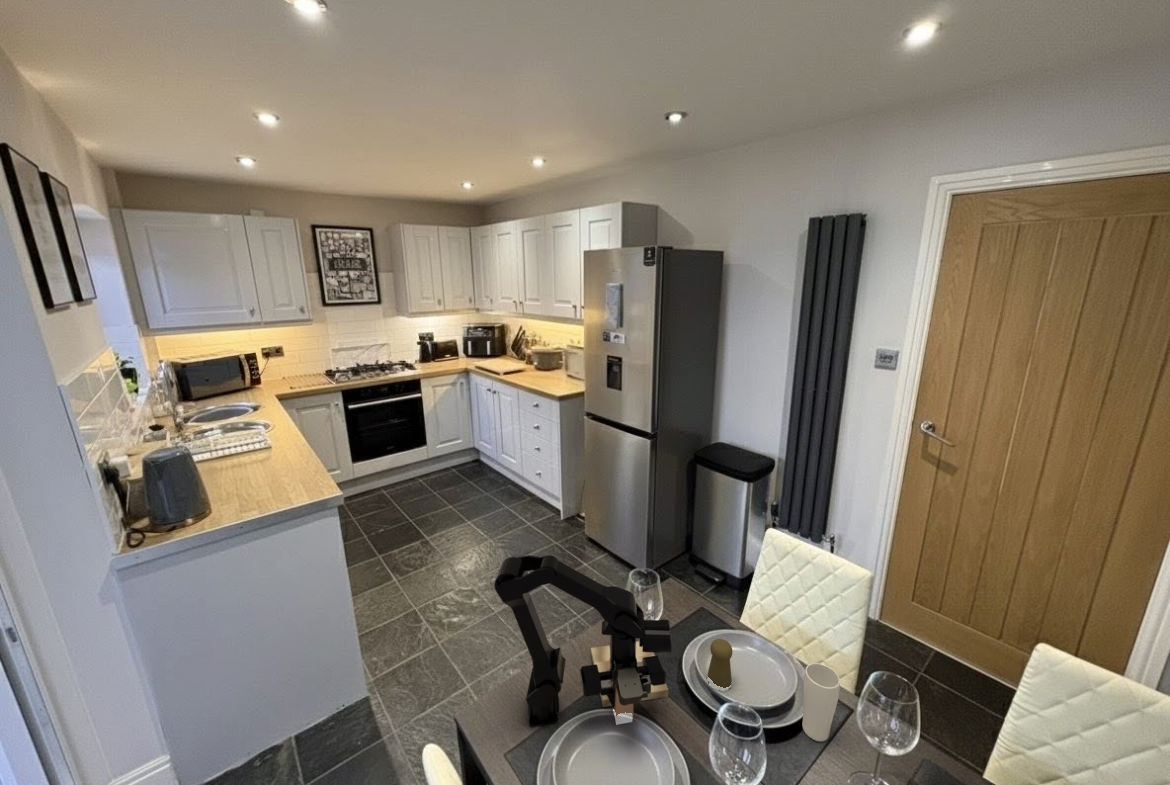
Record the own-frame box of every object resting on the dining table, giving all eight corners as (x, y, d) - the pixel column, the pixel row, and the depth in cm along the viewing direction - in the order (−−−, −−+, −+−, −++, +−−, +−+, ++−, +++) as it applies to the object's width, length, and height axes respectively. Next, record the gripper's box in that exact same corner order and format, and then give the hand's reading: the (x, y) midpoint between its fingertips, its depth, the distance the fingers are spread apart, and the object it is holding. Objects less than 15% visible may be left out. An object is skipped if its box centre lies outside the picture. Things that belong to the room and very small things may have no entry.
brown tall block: (615, 725, 104) (616, 689, 101) (612, 709, 107) (612, 674, 105) (633, 722, 104) (633, 686, 102) (628, 706, 108) (629, 671, 106)
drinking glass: (831, 752, 97) (839, 694, 94) (796, 736, 101) (802, 679, 97) (833, 726, 103) (841, 670, 99) (800, 712, 106) (807, 657, 103)
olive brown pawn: (733, 693, 111) (736, 655, 109) (707, 689, 112) (709, 651, 110) (730, 673, 117) (733, 636, 114) (706, 669, 118) (708, 633, 116)
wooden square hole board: (602, 707, 108) (602, 700, 108) (590, 654, 123) (590, 648, 123) (668, 696, 111) (668, 689, 110) (648, 646, 126) (648, 639, 125)
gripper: (587, 684, 92) (588, 746, 96) (676, 671, 95) (673, 731, 99) (578, 642, 103) (580, 699, 107) (659, 631, 106) (657, 687, 110)
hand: (622, 705), depth 105 cm, fingers closed on brown tall block, 4 cm apart
